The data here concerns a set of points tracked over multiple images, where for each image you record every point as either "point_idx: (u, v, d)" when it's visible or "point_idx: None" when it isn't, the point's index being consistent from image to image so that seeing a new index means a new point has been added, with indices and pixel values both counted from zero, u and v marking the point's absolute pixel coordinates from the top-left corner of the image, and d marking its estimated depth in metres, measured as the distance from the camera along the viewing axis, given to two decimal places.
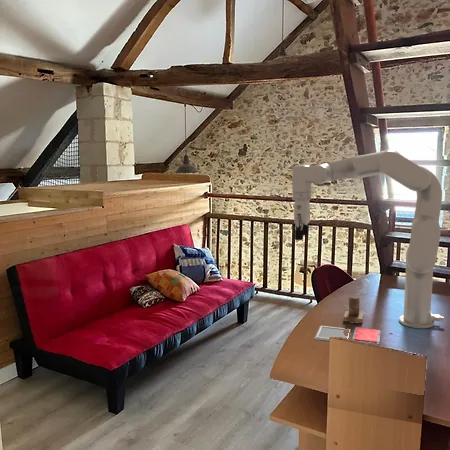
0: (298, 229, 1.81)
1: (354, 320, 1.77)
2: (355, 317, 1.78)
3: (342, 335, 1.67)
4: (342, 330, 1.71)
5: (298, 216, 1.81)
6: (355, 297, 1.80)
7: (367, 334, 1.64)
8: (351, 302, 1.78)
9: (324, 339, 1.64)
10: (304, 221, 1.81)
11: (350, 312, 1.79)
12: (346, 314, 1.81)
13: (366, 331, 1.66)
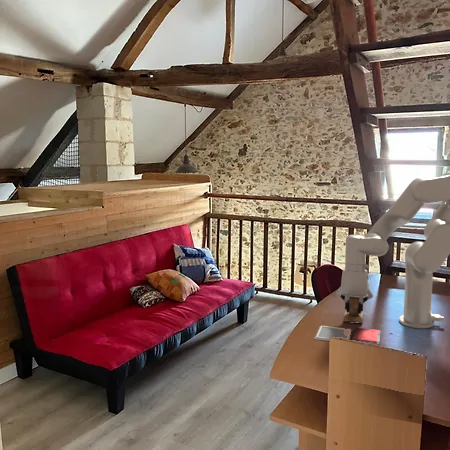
0: None
1: (354, 320, 1.77)
2: (355, 317, 1.78)
3: (342, 335, 1.67)
4: (342, 330, 1.71)
5: None
6: (355, 297, 1.80)
7: (367, 334, 1.64)
8: (351, 302, 1.78)
9: (324, 339, 1.64)
10: None
11: (350, 312, 1.79)
12: (346, 314, 1.81)
13: (366, 331, 1.66)
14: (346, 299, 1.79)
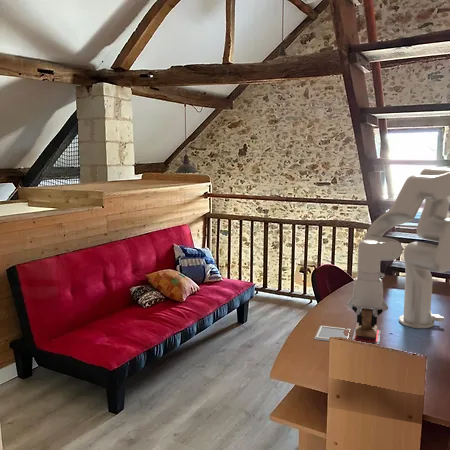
0: None
1: (367, 334, 1.60)
2: (368, 331, 1.60)
3: (342, 335, 1.67)
4: (342, 330, 1.71)
5: (383, 300, 1.60)
6: (368, 309, 1.62)
7: None
8: (364, 314, 1.61)
9: (324, 339, 1.64)
10: None
11: (363, 325, 1.62)
12: (358, 327, 1.64)
13: None
14: (358, 311, 1.62)
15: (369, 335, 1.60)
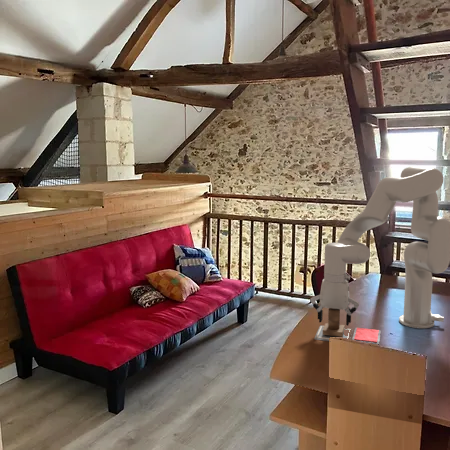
0: None
1: (334, 334, 1.64)
2: (335, 330, 1.65)
3: None
4: None
5: (351, 299, 1.64)
6: (335, 309, 1.67)
7: (367, 334, 1.64)
8: (330, 314, 1.65)
9: (324, 339, 1.64)
10: None
11: (330, 325, 1.66)
12: (325, 327, 1.68)
13: (366, 331, 1.66)
14: (319, 308, 1.67)
15: (335, 334, 1.64)
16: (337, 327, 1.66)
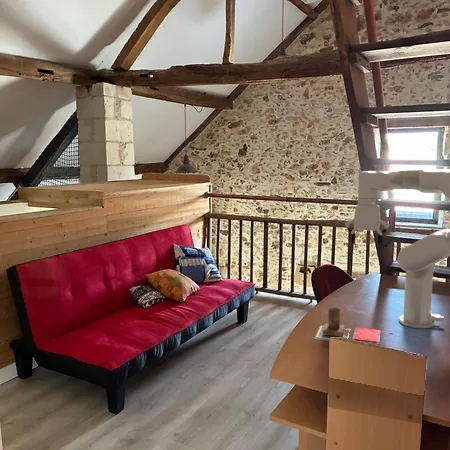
0: (383, 233, 1.84)
1: (334, 334, 1.64)
2: (335, 330, 1.65)
3: None
4: None
5: (382, 221, 1.83)
6: (335, 309, 1.67)
7: (367, 334, 1.64)
8: (330, 314, 1.65)
9: (324, 339, 1.64)
10: None
11: (330, 325, 1.66)
12: (325, 327, 1.68)
13: (366, 331, 1.66)
14: (352, 231, 1.87)
15: (335, 334, 1.64)
16: (337, 327, 1.66)
